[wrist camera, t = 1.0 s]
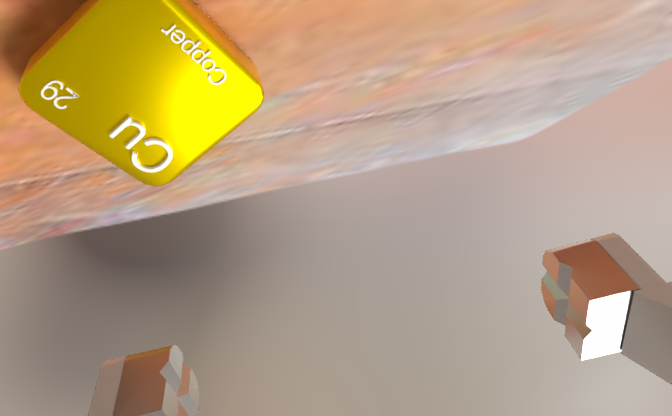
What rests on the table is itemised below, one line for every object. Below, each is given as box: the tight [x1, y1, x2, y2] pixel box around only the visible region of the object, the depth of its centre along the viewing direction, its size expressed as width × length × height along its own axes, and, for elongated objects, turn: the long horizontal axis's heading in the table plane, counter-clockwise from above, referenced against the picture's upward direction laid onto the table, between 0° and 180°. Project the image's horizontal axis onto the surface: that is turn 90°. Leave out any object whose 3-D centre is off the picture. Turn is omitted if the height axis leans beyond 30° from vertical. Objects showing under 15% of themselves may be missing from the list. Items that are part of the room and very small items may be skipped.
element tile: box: [18, 0, 264, 186], centre depth 45 cm, size 15×15×5 cm
